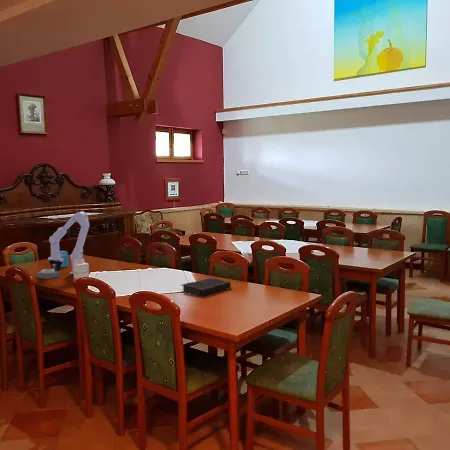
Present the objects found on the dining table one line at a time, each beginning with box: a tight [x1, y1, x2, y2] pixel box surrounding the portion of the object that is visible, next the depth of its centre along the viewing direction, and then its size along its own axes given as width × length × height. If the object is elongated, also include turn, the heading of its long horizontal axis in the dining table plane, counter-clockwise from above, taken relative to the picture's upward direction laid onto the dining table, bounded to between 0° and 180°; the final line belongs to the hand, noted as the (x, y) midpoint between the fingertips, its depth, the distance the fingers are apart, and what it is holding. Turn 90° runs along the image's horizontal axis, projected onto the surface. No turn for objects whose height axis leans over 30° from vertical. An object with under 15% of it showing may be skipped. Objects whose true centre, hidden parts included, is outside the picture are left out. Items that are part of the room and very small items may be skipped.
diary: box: [180, 277, 232, 297], centre depth 281 cm, size 19×25×5 cm
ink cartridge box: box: [73, 257, 90, 283], centre depth 309 cm, size 9×5×15 cm, turn 141°
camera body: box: [36, 268, 60, 280], centre depth 324 cm, size 12×9×5 cm
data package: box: [59, 250, 69, 269], centre depth 358 cm, size 12×4×12 cm, turn 140°
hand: (56, 270), depth 336 cm, fingers closed on lens, 4 cm apart
